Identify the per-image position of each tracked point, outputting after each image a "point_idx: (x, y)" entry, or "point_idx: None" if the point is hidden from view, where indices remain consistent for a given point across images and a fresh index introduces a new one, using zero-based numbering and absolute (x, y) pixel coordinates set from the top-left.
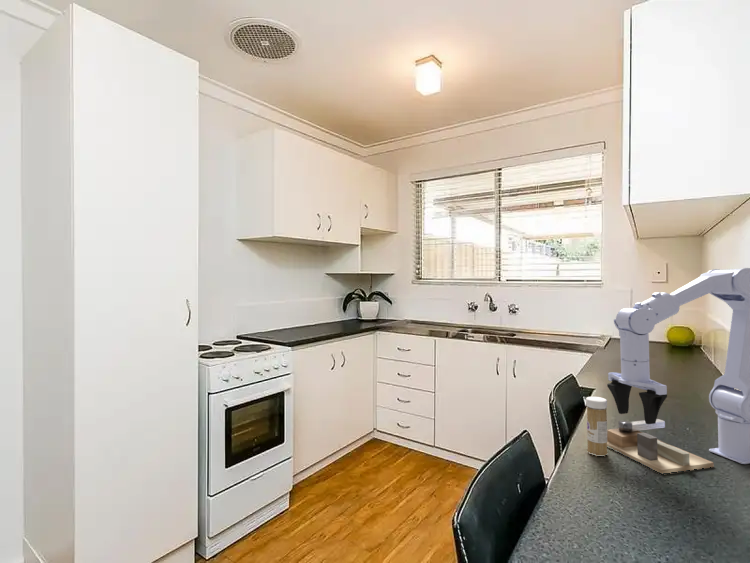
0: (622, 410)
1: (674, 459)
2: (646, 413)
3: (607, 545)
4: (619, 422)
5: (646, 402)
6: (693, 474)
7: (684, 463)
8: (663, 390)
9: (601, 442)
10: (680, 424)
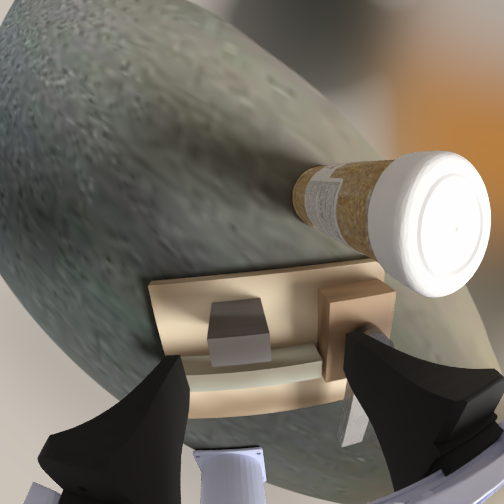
0: (351, 352)
1: (195, 359)
2: (144, 383)
3: (5, 34)
4: (384, 339)
5: (97, 426)
6: (151, 353)
7: None
8: None
9: (305, 192)
10: (378, 457)
